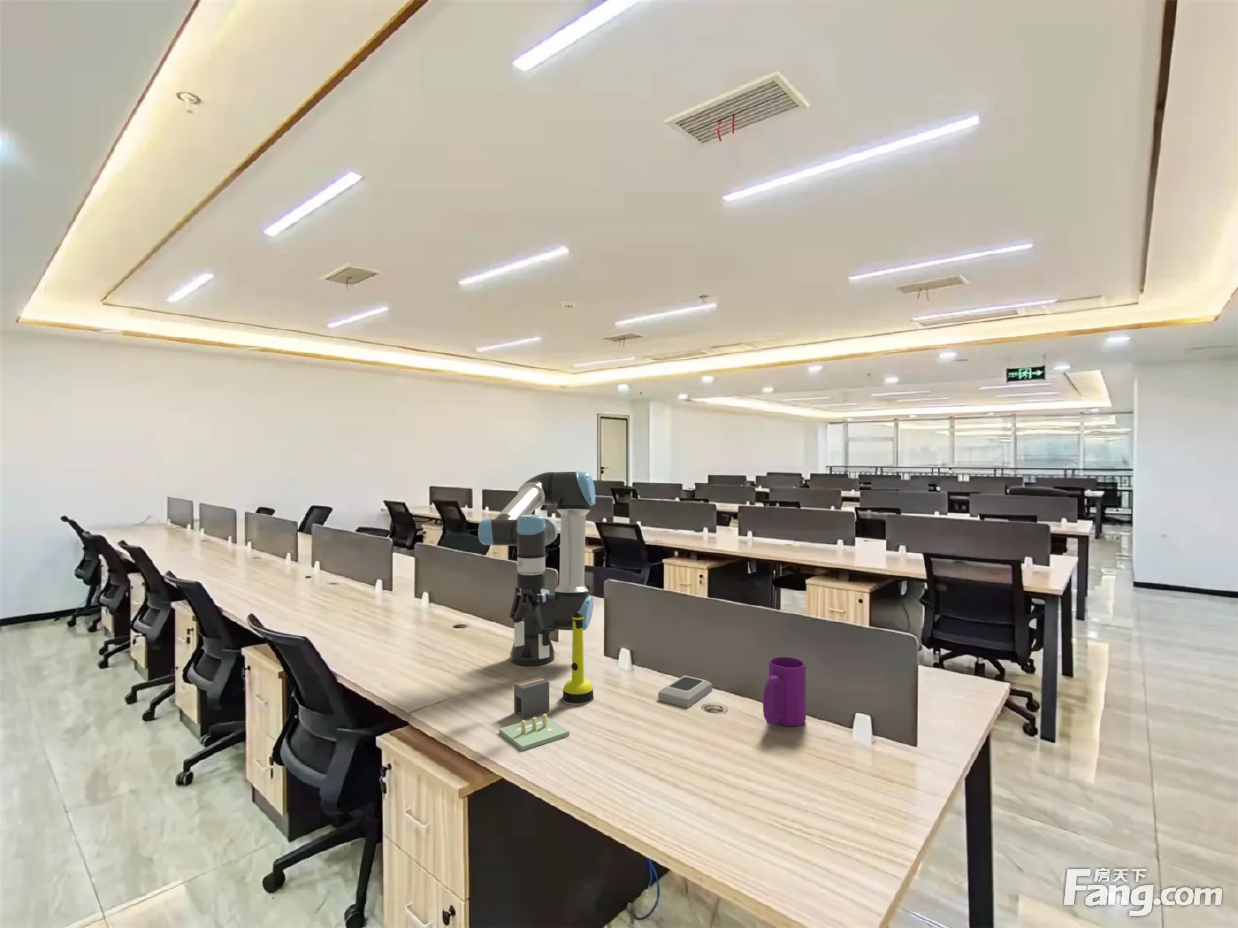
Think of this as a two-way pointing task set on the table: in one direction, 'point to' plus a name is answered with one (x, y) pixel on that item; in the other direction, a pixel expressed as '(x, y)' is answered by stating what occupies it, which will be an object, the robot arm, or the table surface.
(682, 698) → the grey flat block
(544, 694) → the plug housing
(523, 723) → the board
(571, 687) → the flashlight
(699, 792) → the table surface
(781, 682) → the mug
